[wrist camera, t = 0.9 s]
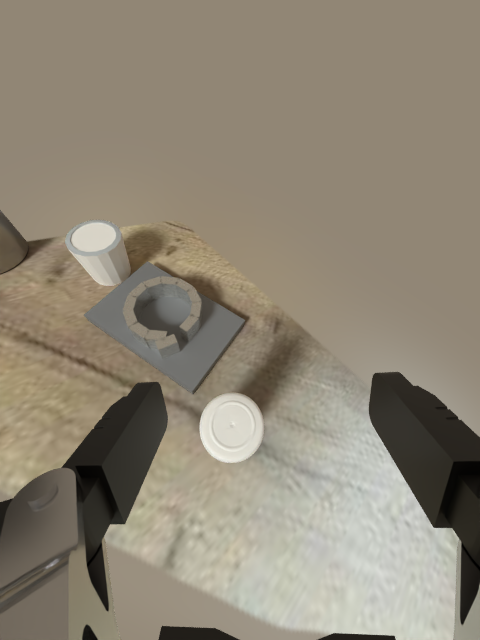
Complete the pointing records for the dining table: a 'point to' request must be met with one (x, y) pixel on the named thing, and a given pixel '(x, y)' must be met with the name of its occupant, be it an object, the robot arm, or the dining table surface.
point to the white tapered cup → (100, 251)
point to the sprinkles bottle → (231, 427)
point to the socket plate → (169, 329)
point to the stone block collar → (154, 291)
